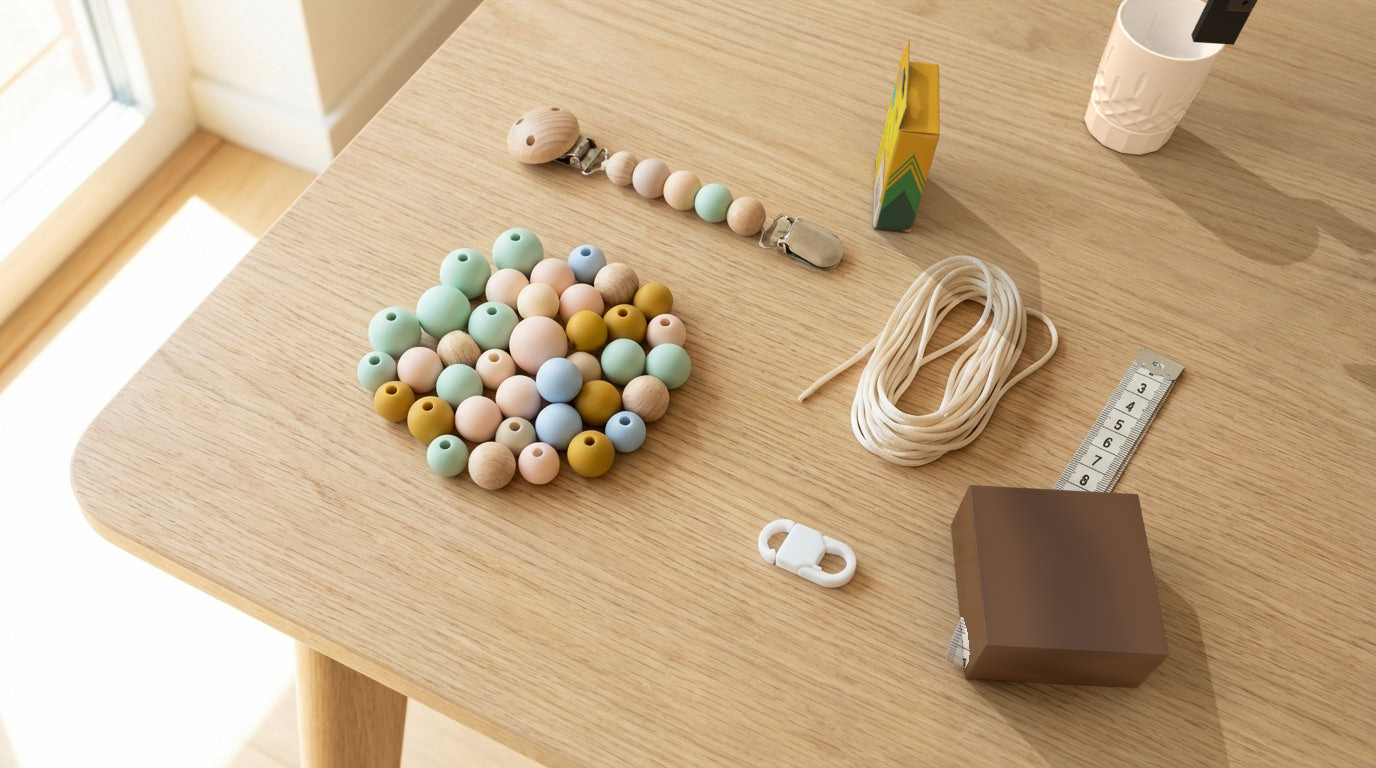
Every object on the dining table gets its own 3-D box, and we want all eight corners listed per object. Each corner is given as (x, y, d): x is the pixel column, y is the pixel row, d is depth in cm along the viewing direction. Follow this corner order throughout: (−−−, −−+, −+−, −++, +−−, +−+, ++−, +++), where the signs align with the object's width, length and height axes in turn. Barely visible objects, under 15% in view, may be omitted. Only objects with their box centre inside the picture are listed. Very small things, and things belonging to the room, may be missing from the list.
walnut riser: (1110, 532, 76) (1138, 493, 72) (1138, 688, 70) (1170, 655, 66) (950, 524, 76) (969, 484, 71) (964, 679, 70) (986, 645, 66)
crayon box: (912, 235, 89) (946, 116, 79) (871, 230, 89) (901, 110, 79) (914, 162, 93) (947, 41, 83) (875, 157, 93) (903, 36, 84)
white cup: (1197, 138, 96) (1251, 37, 88) (1124, 175, 93) (1172, 74, 85) (1127, 78, 99) (1172, -24, 91) (1055, 112, 97) (1095, 9, 89)
